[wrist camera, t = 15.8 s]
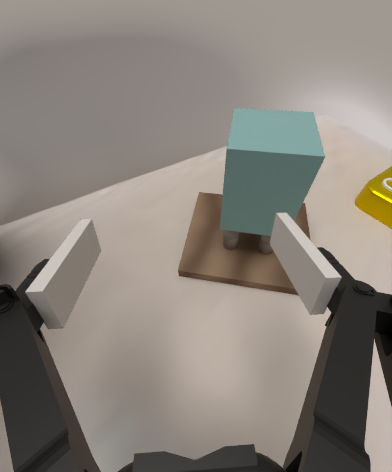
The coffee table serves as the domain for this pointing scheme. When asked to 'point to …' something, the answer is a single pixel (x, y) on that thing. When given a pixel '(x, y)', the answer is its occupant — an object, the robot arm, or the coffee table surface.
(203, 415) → the coffee table surface
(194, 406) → the coffee table surface
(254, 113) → the teal block
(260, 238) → the peg board
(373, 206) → the element tile
